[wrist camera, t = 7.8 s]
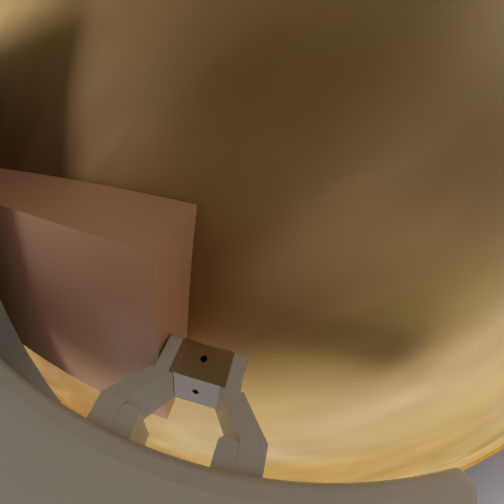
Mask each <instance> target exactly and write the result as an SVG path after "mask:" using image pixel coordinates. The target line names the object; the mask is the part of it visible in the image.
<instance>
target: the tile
mask: <svg viewBox="0 0 504 504" xmlns="http://www.w3.org/2000/svg"><path fill="white" fill-rule="evenodd" d="M196 212H197V204H193V203H188V202H184V201H179V200H175V199H170V198H165V197H160V196H156V195H151V194H146V193H141V192H136V191H131V190H126V189H121V188H116V187H111V186H105V185H100V184H95V183H89V182H84V181H78V180H72V179H67V178H61V177H55V176H49V175H42V174H36V173H30V172H23V171H16V170H9V169H2V168H0V300H1V302H2V304H3V306H4V309H5V311H6V313H7V315H8V317H9V319H10V321H11V323H12V325H13V327H14V329H15V331H16V333H17V335H18V337H19V339H20V340H21V342H22V344H24V345H25V346H27V347H28V348H29V349H31V350H32V351H34V352H35V353H37V354H38V355H40V356H41V357H43V358H44V359H46V360H47V361H49V362H50V363H52V364H53V365H55V366H57V367H58V368H60V369H62V370H63V371H65V372H67V373H68V374H70V375H72V376H74V377H75V378H77V379H79V380H81V381H83V382H84V383H86V384H88V385H90V386H92V387H94V388H96V389H98V390H100V391H102V390H104V389H106V388H108V387H110V386H112V385H114V384H116V383H118V382H120V381H122V380H123V379H125V378H127V377H129V376H131V375H133V374H135V373H137V372H138V371H140V370H142V369H144V368H146V367H148V366H150V365H153V366H155V364H156V362H157V360H158V358H159V356H160V354H161V352H162V350H163V348H164V346H165V344H166V342H167V340H168V338H169V337H170V336H171V335H172V334H174V335H178V336H181V337H184V338H187V326H188V307H189V291H190V276H191V264H192V252H193V241H194V231H195V221H196ZM175 399H176V397H175V396H174V398H173V399H171V400H170V401H169V402H167V403H166V404H164V405H163V406H162V407H160V408H159V409H158V410H156V411H155V412H153V413H152V414H155V415H157V416H160V417H163V418H165V419H168V416H169V414H170V411H171V409H172V406H173V404H174V401H175Z"/></svg>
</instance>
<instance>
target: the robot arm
mask: <svg viewBox="0 0 504 504" xmlns="http://www.w3.org/2000/svg"><path fill="white" fill-rule="evenodd" d="M233 356H234V357H233ZM247 360H248V355H244V354H240V353H236V352H235V353H234V352H233V351H229V350H225V349H222V348H218V347H214V346H210V345H209V346H208V345H205V344H202V343H199V342H196V341H193V340H190V339H187V338H184V337H181V336H178V335H174V334H172V335H171V336H170V337H169V338H168V340H167V342H166V344H165V346H164V348H163V350H162V352H161V354H160V356H159V358H158V360H157V362H156V364H155V366H153V365H150V366H148V367H146V368H144V369H142V370H140V371H138V372H137V373H135V374H133V375H131V376H129V377H127V378H125V379H123V380H122V381H120V382H118V383H116V384H114V385H112V386H110V387H108V388H106V389H104V390H102V392H101V393H100V395H99V397H98V399H97V400H96V402H95V404H94V406H93V407H92V409H91V411H90V413H89V415H88V416H87V418H85V417H84V416H82V415H80V414H78V413H77V412H75V411H73V410H71V409H70V408H68V407H67V406H65V405H63V404H62V403H60V402H59V401H57V400H55V399H54V398H52V397H51V396H49V395H48V394H47V393H45V392H44V391H42V390H41V389H39V388H38V387H37V386H35V385H34V384H32V383H31V382H30V381H28V380H27V379H26V378H25V377H23V376H22V375H21V374H19V373H18V372H17V371H16V370H14V369H13V368H12V367H11V366H10V365H8V364H7V363H6V362H5V361H4V360H3V359H2V358H0V504H477V493H476V488H475V485H474V484H473V483H472V481H471V480H470V479H469V478H468V476H466V474H465V473H464V472H463V471H462V470H461V469H459V468H451V469H447V470H443V471H439V472H434V473H430V474H425V475H419V476H414V477H408V478H401V479H393V480H384V481H373V482H356V483H315V482H298V481H287V480H278V479H270V478H263V472H264V466H265V460H266V454H267V448H268V443H267V441H266V439H265V437H264V435H263V433H262V431H261V429H260V426H259V424H258V422H257V420H256V418H255V416H254V414H253V411H252V409H251V407H250V405H249V403H248V401H247V398H246V396H245V394H244V393H243V392H240V391H241V386H242V382H243V378H244V373H245V369H246V365H247ZM174 396H175V397H178V398H182V399H185V400H188V401H192V402H195V403H198V404H202V405H205V406H208V407H211V408H215V410H216V413H217V416H218V419H219V422H220V425H221V428H222V431H223V434H224V436H222V437H220V438H219V439H218V442H217V445H216V448H215V451H214V455H213V458H212V461H211V465H210V467H208V466H204V465H201V464H197V463H194V462H190V461H187V460H184V459H180V458H177V457H174V456H171V455H168V454H165V453H163V452H160V451H157V450H154V449H152V448H149V447H147V446H145V444H146V441H147V439H148V436H149V433H148V431H147V428H146V426H145V423H144V420H143V419H145V418H146V417H148V416H149V415H150V414H152V413H153V412H155V411H156V410H158V409H159V408H160V407H162V406H163V405H164V404H166V403H167V402H169V401H170V400H171V399H173V398H174Z"/></svg>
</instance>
